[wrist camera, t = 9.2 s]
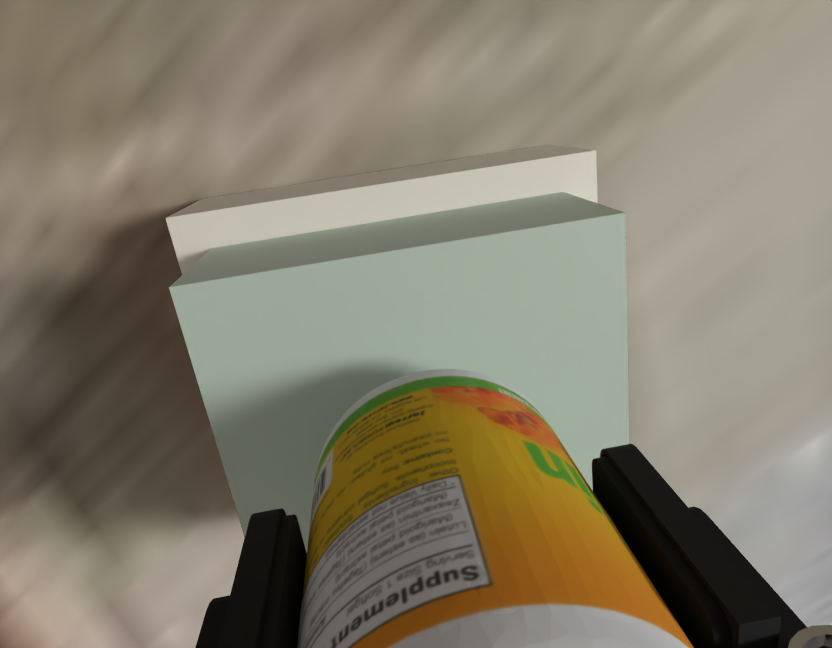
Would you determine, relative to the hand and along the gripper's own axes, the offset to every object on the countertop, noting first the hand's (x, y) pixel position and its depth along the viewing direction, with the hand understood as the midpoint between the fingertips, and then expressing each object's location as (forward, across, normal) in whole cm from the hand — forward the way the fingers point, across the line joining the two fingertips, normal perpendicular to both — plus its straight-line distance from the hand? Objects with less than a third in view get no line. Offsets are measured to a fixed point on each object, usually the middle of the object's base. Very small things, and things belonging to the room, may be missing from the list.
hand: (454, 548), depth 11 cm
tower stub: (+12, 0, 0) cm, 12 cm away
